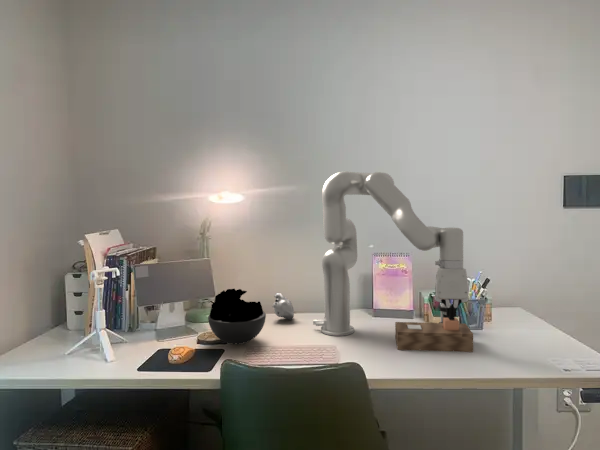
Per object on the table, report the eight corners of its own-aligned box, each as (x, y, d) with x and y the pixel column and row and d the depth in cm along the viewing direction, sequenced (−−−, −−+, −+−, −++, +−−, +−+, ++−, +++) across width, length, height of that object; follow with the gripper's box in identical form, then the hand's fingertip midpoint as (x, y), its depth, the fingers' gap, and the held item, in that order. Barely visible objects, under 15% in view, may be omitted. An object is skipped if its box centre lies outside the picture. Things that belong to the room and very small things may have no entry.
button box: (397, 349, 155) (397, 332, 154) (395, 338, 166) (395, 321, 166) (473, 352, 151) (473, 333, 151) (465, 340, 163) (465, 323, 163)
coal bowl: (236, 331, 178) (235, 282, 177) (277, 340, 166) (276, 288, 165) (196, 345, 162) (195, 292, 160) (239, 356, 150) (238, 299, 149)
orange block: (445, 338, 156) (445, 321, 155) (442, 334, 160) (443, 317, 160) (458, 339, 155) (458, 321, 155) (456, 335, 160) (456, 317, 159)
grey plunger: (408, 345, 158) (408, 328, 157) (407, 341, 162) (407, 324, 162) (421, 346, 157) (421, 328, 157) (420, 342, 161) (420, 325, 161)
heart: (289, 325, 184) (291, 294, 185) (268, 322, 188) (270, 292, 189) (299, 323, 193) (302, 294, 194) (279, 320, 197) (281, 292, 198)
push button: (454, 328, 178) (454, 302, 177) (458, 332, 173) (458, 305, 172) (436, 327, 178) (437, 302, 178) (439, 332, 173) (440, 305, 172)
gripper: (429, 266, 153) (429, 321, 155) (477, 266, 151) (476, 322, 153) (426, 262, 161) (426, 315, 162) (472, 263, 159) (471, 316, 160)
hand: (451, 318), depth 157 cm, fingers closed
